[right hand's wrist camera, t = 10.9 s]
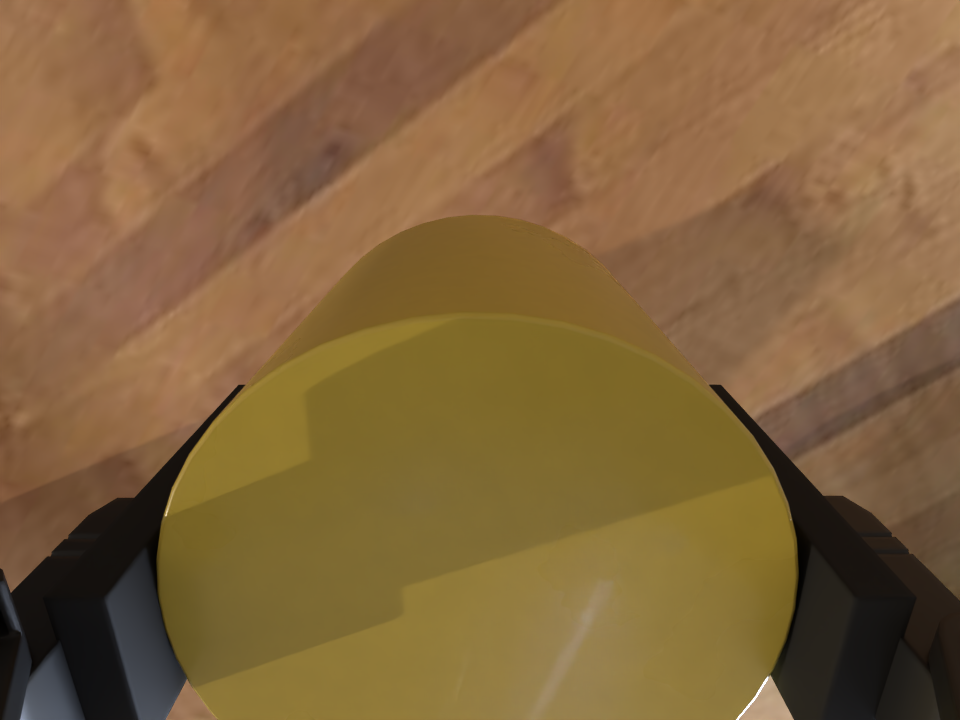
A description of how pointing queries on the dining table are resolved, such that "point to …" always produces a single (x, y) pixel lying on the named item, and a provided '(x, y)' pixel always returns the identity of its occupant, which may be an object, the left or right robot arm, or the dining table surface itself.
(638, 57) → the dining table surface
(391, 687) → the can
